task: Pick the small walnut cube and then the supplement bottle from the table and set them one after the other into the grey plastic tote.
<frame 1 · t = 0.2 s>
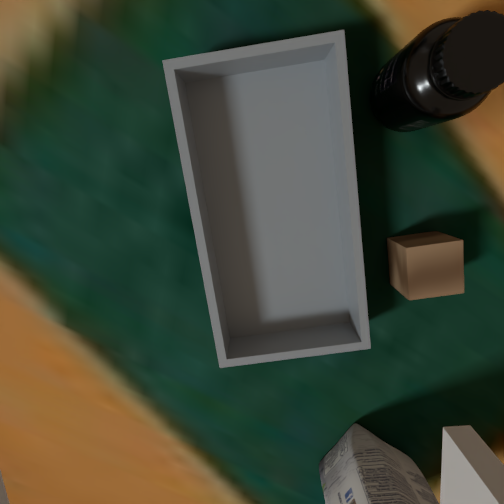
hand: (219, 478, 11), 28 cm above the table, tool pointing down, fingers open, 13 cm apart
walnut cube: (412, 257, 37), on the table
supplement bottle: (403, 95, 34), on the table
tote: (272, 210, 36), on the table
juice carton: (363, 458, 43), on the table
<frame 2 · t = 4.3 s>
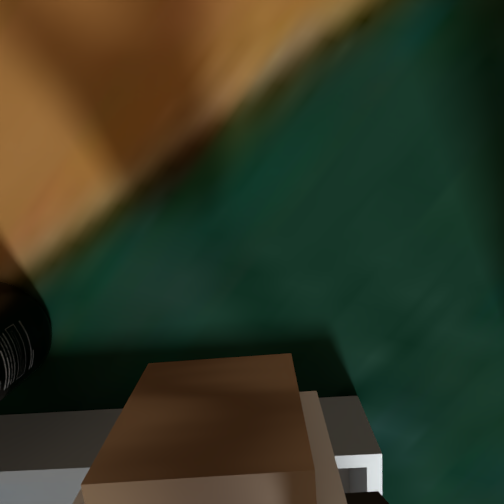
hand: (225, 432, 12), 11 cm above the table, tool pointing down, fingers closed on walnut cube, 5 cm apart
walnut cube: (226, 420, 13), point 10 cm above the table, touching gripper
supplement bottle: (6, 326, 24), on the table
tote: (167, 495, 26), on the table
when the fingers open (1 cm above the table, at t = 7.8 s): walnut cube stays where it is, resting on tote.
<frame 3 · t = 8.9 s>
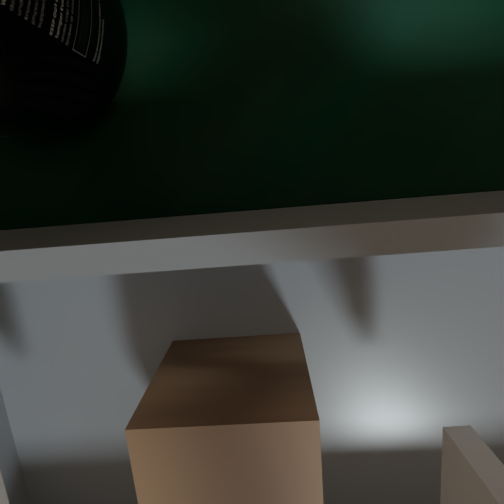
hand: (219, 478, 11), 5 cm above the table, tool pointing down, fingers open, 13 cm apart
walnut cube: (241, 393, 15), resting on tote
supplement bottle: (39, 43, 13), on the table
tote: (314, 382, 15), on the table
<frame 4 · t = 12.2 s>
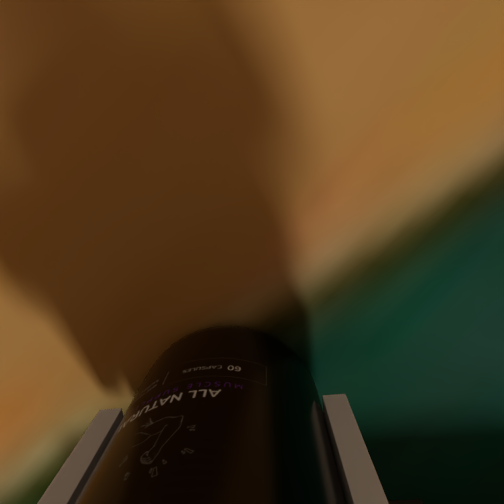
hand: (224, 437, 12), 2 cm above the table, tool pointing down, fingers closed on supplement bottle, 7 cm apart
supplement bottle: (230, 397, 14), on the table, touching gripper
when the fingers open (5 cm above the table, at t = 17.3 s): supplement bottle drops 2 cm, resting on tote.
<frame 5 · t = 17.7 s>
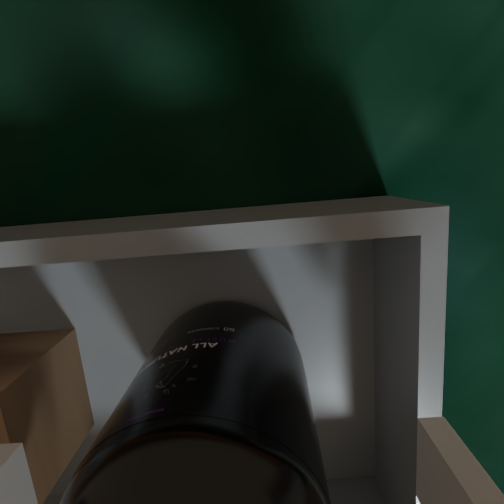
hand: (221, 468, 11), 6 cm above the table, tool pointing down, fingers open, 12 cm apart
walnut cube: (33, 381, 17), resting on tote
supplement bottle: (228, 364, 17), resting on tote
tote: (100, 370, 17), on the table
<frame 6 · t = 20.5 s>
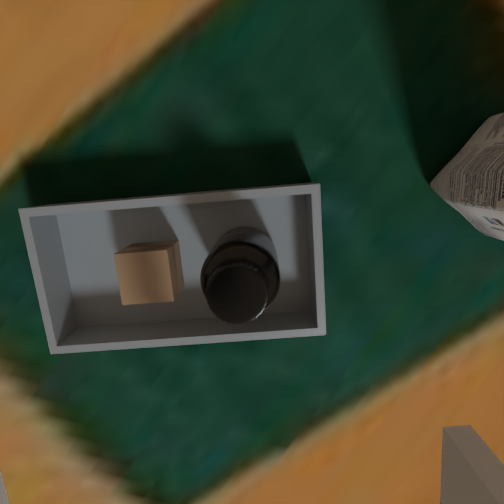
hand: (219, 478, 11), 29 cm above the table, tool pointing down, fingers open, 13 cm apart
walnut cube: (158, 264, 38), resting on tote
supplement bottle: (244, 256, 38), resting on tote
tote: (187, 261, 39), on the table
juice carton: (480, 174, 37), on the table
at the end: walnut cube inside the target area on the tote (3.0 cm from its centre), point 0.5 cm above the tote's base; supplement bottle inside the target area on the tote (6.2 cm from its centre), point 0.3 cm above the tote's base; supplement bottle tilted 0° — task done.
